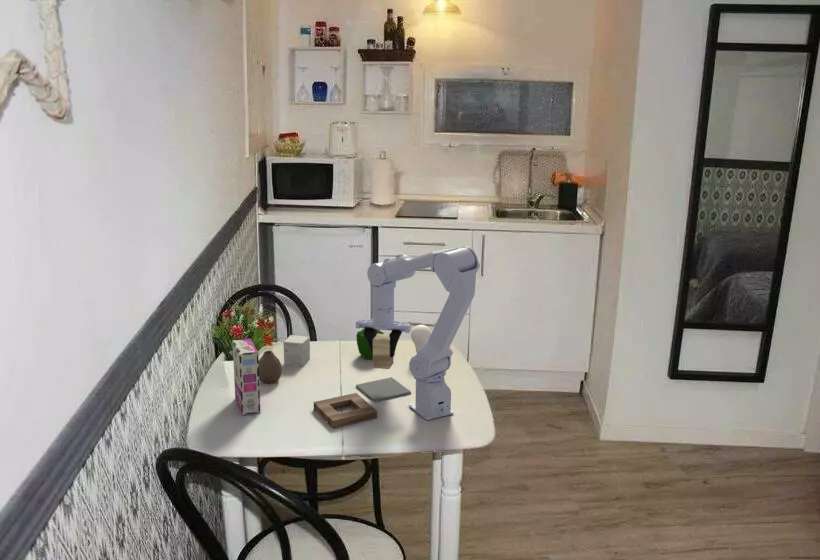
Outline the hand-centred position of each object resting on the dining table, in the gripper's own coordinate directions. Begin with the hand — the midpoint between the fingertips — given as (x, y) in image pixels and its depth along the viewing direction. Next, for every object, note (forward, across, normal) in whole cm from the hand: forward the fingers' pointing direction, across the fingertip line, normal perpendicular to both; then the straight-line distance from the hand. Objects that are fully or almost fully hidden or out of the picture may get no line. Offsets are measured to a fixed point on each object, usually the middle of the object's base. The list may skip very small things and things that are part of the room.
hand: (383, 355), depth 201 cm
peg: (+3, 0, 0) cm, 3 cm away
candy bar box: (+10, -31, -18) cm, 37 cm away
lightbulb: (+10, +5, +24) cm, 26 cm away
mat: (+10, 0, 0) cm, 10 cm away
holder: (+10, -6, -16) cm, 20 cm away
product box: (+10, -30, +13) cm, 34 cm away
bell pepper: (+10, -10, +23) cm, 27 cm away
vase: (+10, -32, -2) cm, 34 cm away
